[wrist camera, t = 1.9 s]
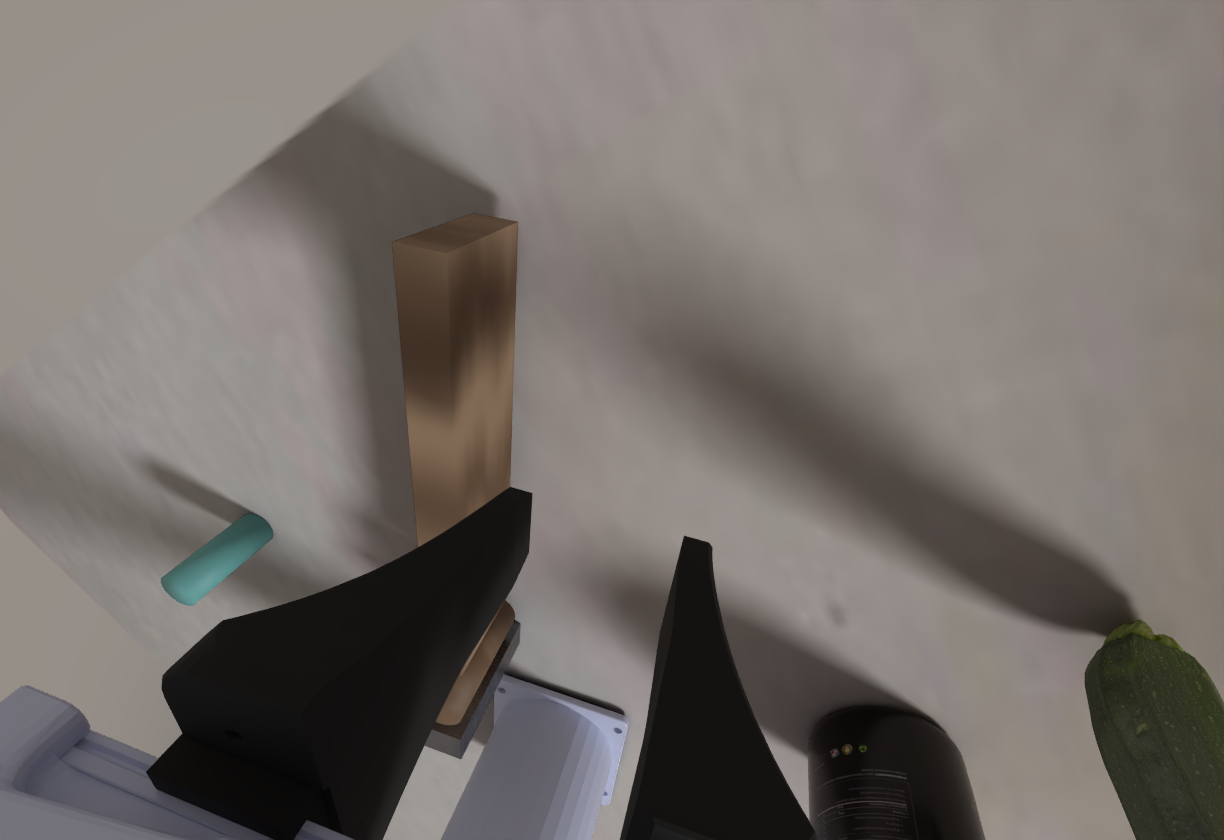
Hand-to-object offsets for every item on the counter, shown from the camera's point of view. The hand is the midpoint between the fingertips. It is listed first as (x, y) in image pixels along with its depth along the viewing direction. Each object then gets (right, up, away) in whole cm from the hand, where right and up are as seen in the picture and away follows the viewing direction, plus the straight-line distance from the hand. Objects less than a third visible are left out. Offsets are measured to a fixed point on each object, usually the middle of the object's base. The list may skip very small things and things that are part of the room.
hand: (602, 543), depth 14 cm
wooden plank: (-5, +1, +10) cm, 11 cm away
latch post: (-20, -3, +18) cm, 27 cm away
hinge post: (-6, -8, +17) cm, 19 cm away
